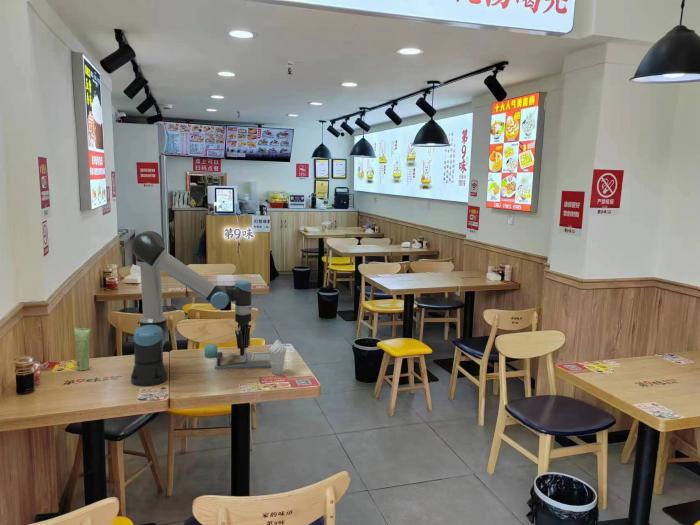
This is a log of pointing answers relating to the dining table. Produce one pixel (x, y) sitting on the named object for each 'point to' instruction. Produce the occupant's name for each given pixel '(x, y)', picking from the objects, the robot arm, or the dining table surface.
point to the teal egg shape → (211, 350)
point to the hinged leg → (228, 358)
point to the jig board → (250, 361)
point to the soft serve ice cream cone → (277, 357)
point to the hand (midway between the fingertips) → (243, 361)
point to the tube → (82, 348)
